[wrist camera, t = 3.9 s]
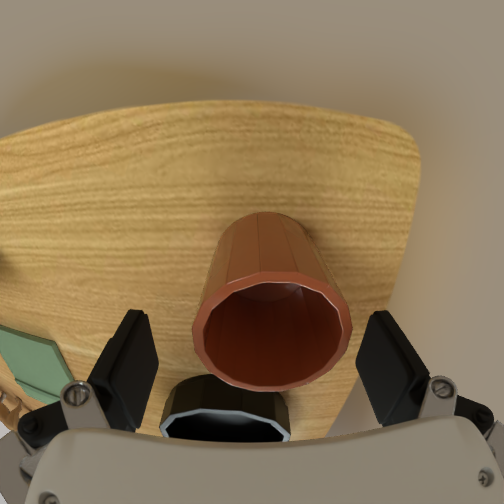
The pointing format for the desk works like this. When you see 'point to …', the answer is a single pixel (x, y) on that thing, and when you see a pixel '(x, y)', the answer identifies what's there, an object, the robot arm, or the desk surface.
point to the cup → (270, 307)
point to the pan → (224, 413)
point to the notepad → (34, 364)
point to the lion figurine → (10, 414)
